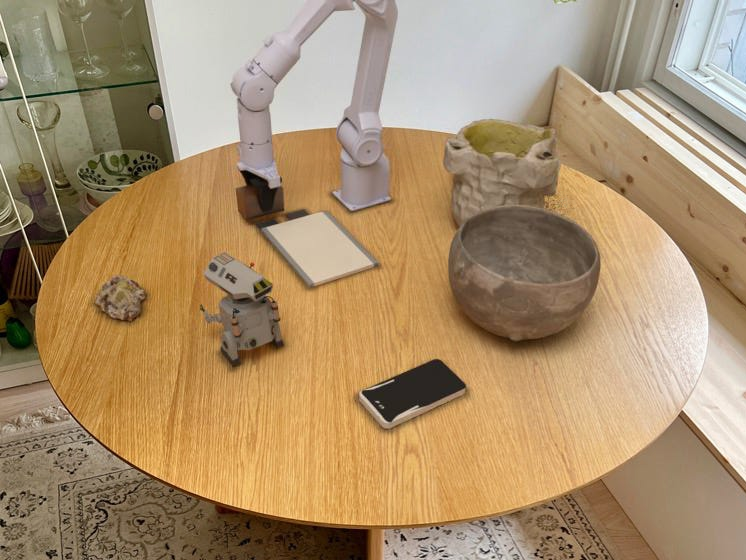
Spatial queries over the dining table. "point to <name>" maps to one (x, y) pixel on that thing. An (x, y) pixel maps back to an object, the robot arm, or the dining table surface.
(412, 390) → the smartphone
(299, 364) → the dining table surface
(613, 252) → the dining table surface
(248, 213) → the brown rectangular block
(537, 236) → the bowl
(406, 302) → the dining table surface
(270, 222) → the dark grey tile
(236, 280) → the figurine
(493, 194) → the ceramic vessel
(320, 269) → the whiteboard
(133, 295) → the mineral rock
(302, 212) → the charcoal rectangular plate
